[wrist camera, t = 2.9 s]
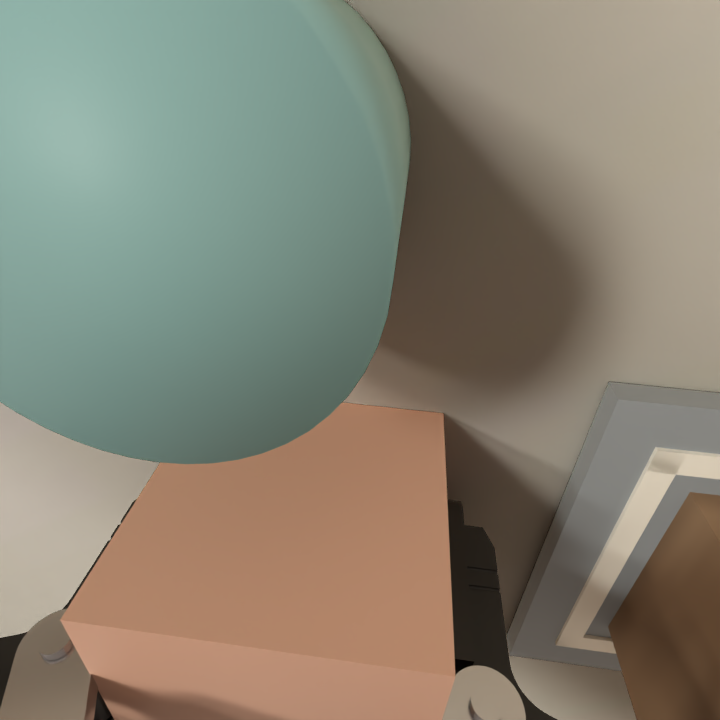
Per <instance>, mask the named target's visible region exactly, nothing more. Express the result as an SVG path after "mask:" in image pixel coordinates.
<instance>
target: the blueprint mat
mask: <svg viewBox="0 0 720 720" xmlns="http://www.w3.org/2000/svg"><path fill="white" fill-rule="evenodd" d="M690 492H695V493H703V494H712V495H720V393H716V392H706V391H696V390H686V389H676V388H666V387H656V386H646V385H636V384H626V383H616V382H609V383H608V385H607V387H606V390H605V392H604V395H603V397H602V400H601V402H600V405H599V407H598V410H597V412H596V415H595V417H594V420H593V422H592V425H591V427H590V430H589V432H588V435H587V437H586V440H585V442H584V445H583V447H582V450H581V452H580V455H579V457H578V460H577V462H576V465H575V467H574V469H573V472H572V474H571V477H570V479H569V482H568V484H567V487H566V489H565V492H564V494H563V497H562V499H561V502H560V504H559V507H558V509H557V512H556V514H555V517H554V519H553V522H552V524H551V527H550V529H549V532H548V534H547V537H546V539H545V542H544V544H543V547H542V549H541V551H540V554H539V556H538V559H537V561H536V564H535V566H534V569H533V571H532V574H531V576H530V579H529V581H528V584H527V586H526V589H525V591H524V594H523V596H522V599H521V601H520V604H519V606H518V609H517V611H516V614H515V616H514V619H513V621H512V624H511V626H510V629H509V631H508V633H507V642H508V650H509V655H510V656H517V657H524V658H532V659H539V660H546V661H553V662H560V663H567V664H574V665H581V666H589V667H596V668H603V669H610V670H617V671H622V670H621V667H620V664H619V660H618V657H617V654H616V651H615V648H614V644H613V641H612V638H611V635H610V632H609V628H608V626H609V624H610V622H611V621H612V619H613V617H614V616H615V614H616V613H617V611H618V609H619V608H620V606H621V604H622V603H623V601H624V599H625V598H626V596H627V594H628V593H629V591H630V590H631V588H632V586H633V585H634V583H635V581H636V580H637V578H638V576H639V575H640V573H641V571H642V570H643V568H644V567H645V565H646V563H647V562H648V560H649V558H650V557H651V555H652V553H653V552H654V550H655V549H656V547H657V545H658V544H659V542H660V540H661V539H662V537H663V535H664V534H665V532H666V530H667V529H668V527H669V526H670V524H671V522H672V521H673V519H674V517H675V516H676V514H677V512H678V511H679V509H680V507H681V506H682V504H683V503H684V501H685V499H686V498H687V496H688V494H689V493H690Z"/></svg>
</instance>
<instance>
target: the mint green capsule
mask: <svg viewBox="0 0 720 720" xmlns="http://www.w3.org/2000/svg"><path fill="white" fill-rule="evenodd" d="M410 150H411V135H410V123H409V115H408V110H407V105H406V101H405V96H404V93H403V90H402V87H401V84H400V81H399V78H398V75H397V72H396V70H395V68H394V66H393V64H392V62H391V60H390V58H389V56H388V54H387V52H386V50H385V48H384V47H383V45H382V44H381V42H380V41H379V39H378V38H377V36H376V35H375V33H374V31H373V30H372V29H371V28H370V27H369V25H368V24H367V23H366V22H365V21H364V20H363V18H362V17H361V16H360V15H359V14H358V12H356V11H355V10H354V9H353V8H352V7H351V6H350V5H349V4H348V3H346V2H345V1H344V0H0V402H1V403H3V404H4V405H6V406H7V407H9V408H11V409H12V410H14V411H15V412H17V413H19V414H20V415H22V416H24V417H26V418H28V419H30V420H32V421H34V422H35V423H37V424H39V425H41V426H43V427H45V428H47V429H49V430H51V431H54V432H56V433H58V434H60V435H63V436H65V437H67V438H70V439H72V440H74V441H77V442H80V443H83V444H86V445H88V446H91V447H94V448H97V449H100V450H103V451H107V452H111V453H114V454H118V455H122V456H126V457H130V458H136V459H142V460H148V461H154V462H162V463H176V464H209V463H219V462H226V461H233V460H239V459H243V458H247V457H251V456H255V455H258V454H262V453H265V452H267V451H270V450H272V449H275V448H277V447H280V446H282V445H285V444H287V443H289V442H291V441H293V440H294V439H296V438H298V437H300V436H301V435H303V434H305V433H307V432H308V431H310V430H311V429H312V428H314V427H315V426H316V425H318V424H319V423H320V422H322V421H323V420H324V419H325V418H327V417H328V416H329V415H330V414H331V413H332V412H333V411H334V410H335V409H336V408H337V407H338V406H339V405H340V404H341V403H342V402H343V401H344V400H345V399H346V398H347V397H348V396H349V394H350V393H351V391H352V390H353V388H354V387H355V386H356V384H357V383H358V381H359V380H360V379H361V377H362V376H363V374H364V373H365V371H366V369H367V367H368V365H369V363H370V361H371V359H372V357H373V355H374V353H375V351H376V349H377V347H378V344H379V341H380V338H381V334H382V331H383V328H384V325H385V322H386V319H387V316H388V310H389V304H390V297H391V291H392V285H393V279H394V271H395V264H396V257H397V250H398V243H399V236H400V229H401V222H402V215H403V207H404V200H405V193H406V186H407V179H408V172H409V165H410Z"/></svg>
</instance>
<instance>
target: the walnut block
mask: <svg viewBox="0 0 720 720" xmlns="http://www.w3.org/2000/svg"><path fill="white" fill-rule="evenodd" d="M608 628H609V632H610V635H611V638H612V641H613V644H614V648H615V651H616V654H617V657H618V660H619V664H620V667H621V670H622V673H623V677H624V680H625V683H626V686H627V689H628V693H629V696H630V699H631V702H632V705H633V709H634V712H635V715H636V718H637V720H720V495H712V494H703V493H695V492H690V493H689V494H688V496H687V498H686V499H685V501H684V503H683V504H682V506H681V507H680V509H679V511H678V512H677V514H676V516H675V517H674V519H673V521H672V522H671V524H670V526H669V527H668V529H667V530H666V532H665V534H664V535H663V537H662V539H661V540H660V542H659V544H658V545H657V547H656V549H655V550H654V552H653V553H652V555H651V557H650V558H649V560H648V562H647V563H646V565H645V567H644V568H643V570H642V571H641V573H640V575H639V576H638V578H637V580H636V581H635V583H634V585H633V586H632V588H631V590H630V591H629V593H628V594H627V596H626V598H625V599H624V601H623V603H622V604H621V606H620V608H619V609H618V611H617V613H616V614H615V616H614V617H613V619H612V621H611V622H610V624H609V626H608Z"/></svg>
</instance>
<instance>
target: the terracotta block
mask: <svg viewBox="0 0 720 720" xmlns="http://www.w3.org/2000/svg"><path fill="white" fill-rule="evenodd" d="M60 621H61V623H62V624H63V626H64V628H65V630H66V632H67V634H68V635H69V637H70V639H71V641H72V643H73V645H74V646H75V648H76V650H77V652H78V654H79V656H80V658H81V659H82V661H83V663H84V665H85V667H86V669H87V670H88V672H89V673H90V674H92V676H93V678H94V680H95V682H96V684H97V686H98V691H99V692H100V694H101V696H102V698H103V700H104V702H105V703H106V705H107V707H108V709H109V711H110V713H111V714H112V716H113V718H114V720H442V718H443V715H444V712H445V709H446V705H447V702H448V699H449V696H450V693H451V690H452V686H453V683H454V680H455V655H454V633H453V611H452V590H451V568H450V546H449V524H448V503H447V481H446V459H445V437H444V416H443V413H436V412H427V411H417V410H408V409H398V408H389V407H379V406H370V405H360V404H351V403H341V404H340V405H339V406H338V407H337V408H336V409H335V410H334V411H333V412H332V413H331V414H330V415H329V416H328V417H327V418H325V419H324V420H323V421H322V422H320V423H319V424H318V425H316V426H315V427H314V428H312V429H311V430H310V431H308V432H307V433H305V434H303V435H301V436H300V437H298V438H296V439H294V440H293V441H291V442H289V443H287V444H285V445H282V446H280V447H277V448H275V449H272V450H270V451H267V452H265V453H262V454H258V455H255V456H251V457H247V458H243V459H239V460H233V461H226V462H219V463H209V464H176V463H162V462H160V464H159V465H158V467H157V468H156V470H155V472H154V473H153V475H152V476H151V478H150V479H149V481H148V483H147V484H146V486H145V487H144V489H143V490H142V492H141V494H140V495H139V497H138V498H137V500H136V501H135V503H134V505H133V506H132V508H131V509H130V511H129V512H128V514H127V516H126V517H125V519H124V520H123V522H122V523H121V525H120V527H119V528H118V530H117V531H116V533H115V534H114V536H113V538H112V539H111V541H110V542H109V544H108V545H107V547H106V549H105V550H104V552H103V553H102V555H101V556H100V558H99V560H98V561H97V563H96V564H95V566H94V567H93V569H92V571H91V572H90V574H89V575H88V577H87V578H86V580H85V582H84V583H83V585H82V586H81V588H80V589H79V591H78V593H77V594H76V596H75V597H74V599H73V600H72V602H71V604H70V605H69V607H68V608H67V610H66V611H65V613H64V615H63V616H62V618H61V619H60Z"/></svg>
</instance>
